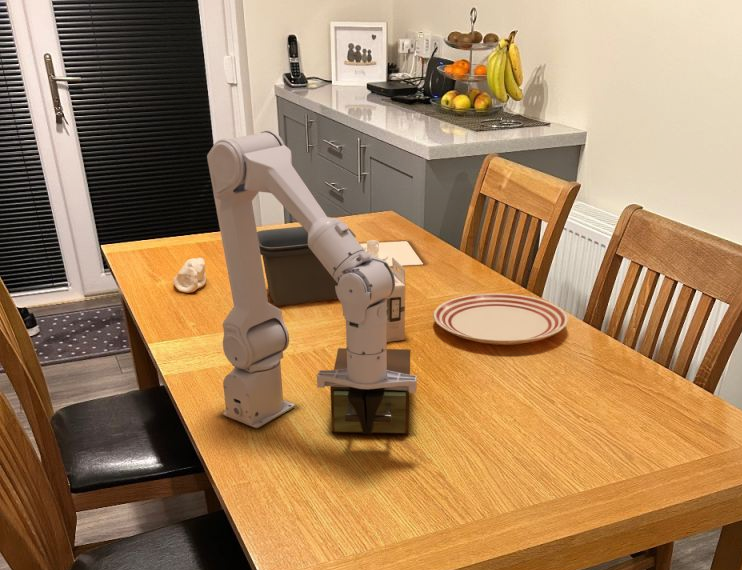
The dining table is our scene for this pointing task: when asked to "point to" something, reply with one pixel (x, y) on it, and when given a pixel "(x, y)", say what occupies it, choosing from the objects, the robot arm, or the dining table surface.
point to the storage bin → (294, 268)
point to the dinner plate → (500, 318)
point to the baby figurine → (191, 275)
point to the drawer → (386, 417)
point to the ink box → (396, 306)
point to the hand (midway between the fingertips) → (367, 431)
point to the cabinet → (395, 362)
